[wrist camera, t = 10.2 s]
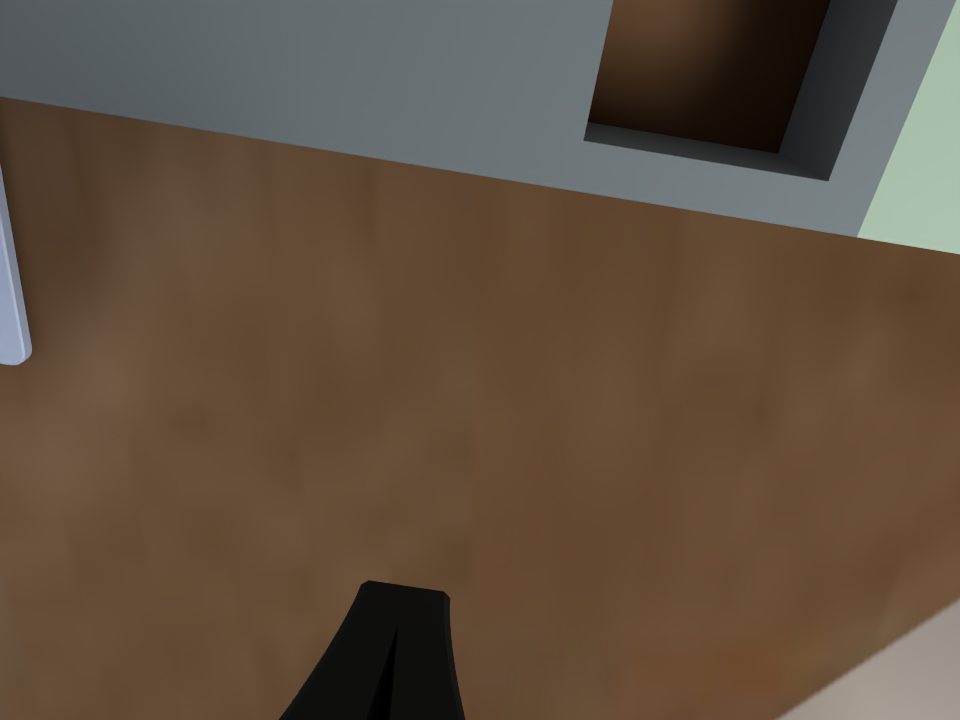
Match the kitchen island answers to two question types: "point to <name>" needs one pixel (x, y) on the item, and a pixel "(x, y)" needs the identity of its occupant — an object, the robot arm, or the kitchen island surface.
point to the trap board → (520, 98)
